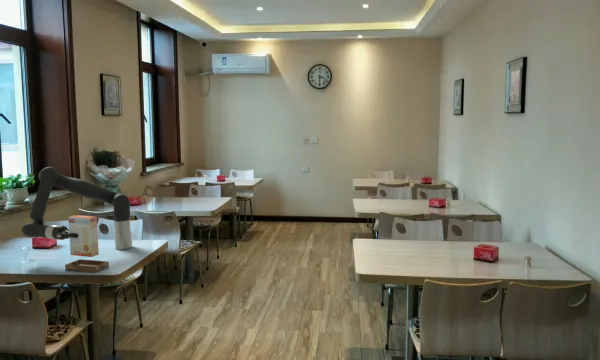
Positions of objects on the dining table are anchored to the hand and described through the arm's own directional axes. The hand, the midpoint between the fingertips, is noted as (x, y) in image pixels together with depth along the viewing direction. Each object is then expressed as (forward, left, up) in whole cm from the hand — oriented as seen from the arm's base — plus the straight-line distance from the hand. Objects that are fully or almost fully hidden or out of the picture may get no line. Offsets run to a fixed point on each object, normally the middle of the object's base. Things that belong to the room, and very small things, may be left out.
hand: (82, 234), depth 267 cm
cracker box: (0, +1, -11) cm, 11 cm away
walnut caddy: (+2, +3, -18) cm, 18 cm away
